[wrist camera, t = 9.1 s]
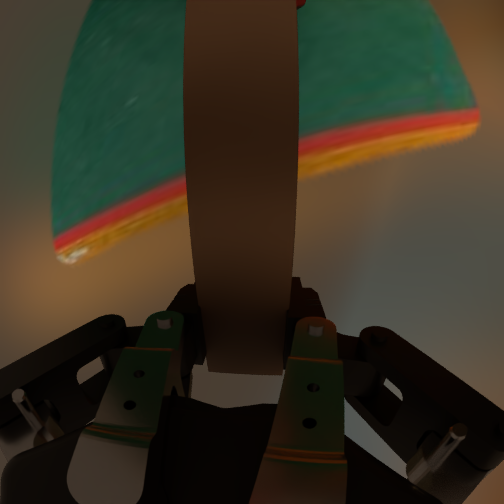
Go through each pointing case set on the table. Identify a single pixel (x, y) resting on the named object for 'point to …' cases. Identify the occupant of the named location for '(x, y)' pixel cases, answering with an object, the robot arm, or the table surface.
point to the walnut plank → (242, 175)
